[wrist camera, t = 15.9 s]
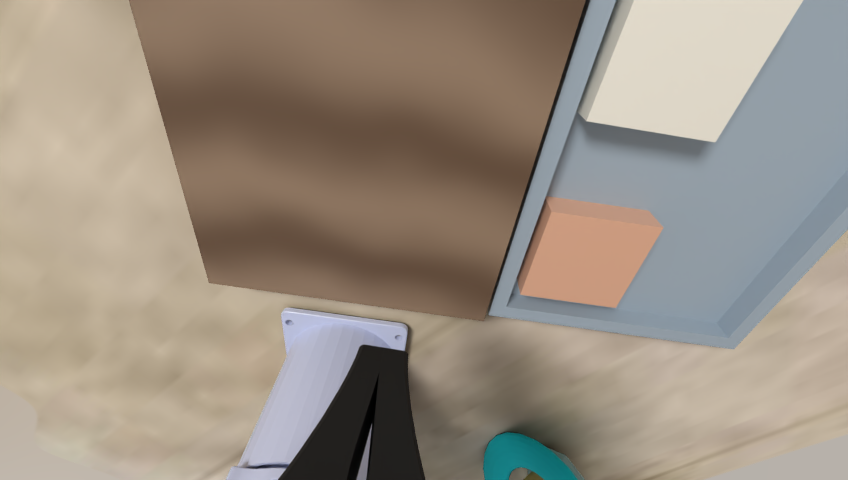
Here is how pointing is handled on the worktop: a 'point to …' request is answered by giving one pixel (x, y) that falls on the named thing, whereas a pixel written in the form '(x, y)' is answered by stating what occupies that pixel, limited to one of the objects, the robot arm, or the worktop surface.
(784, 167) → the box
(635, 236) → the terracotta tile
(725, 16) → the cream tile
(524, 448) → the ornament
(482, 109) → the walnut board
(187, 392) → the worktop surface
